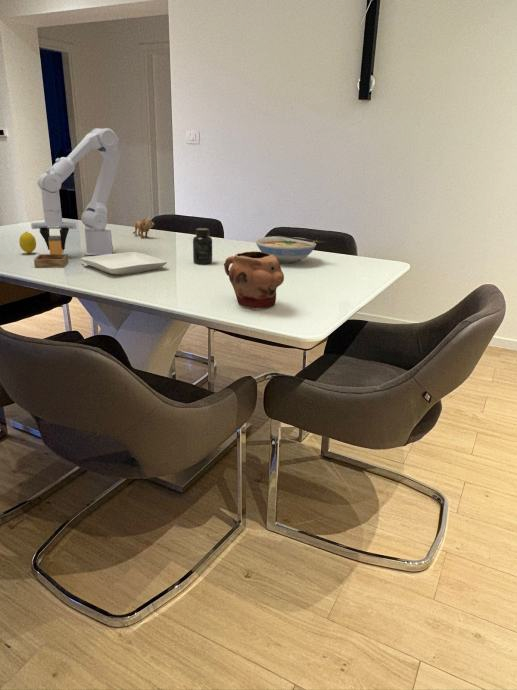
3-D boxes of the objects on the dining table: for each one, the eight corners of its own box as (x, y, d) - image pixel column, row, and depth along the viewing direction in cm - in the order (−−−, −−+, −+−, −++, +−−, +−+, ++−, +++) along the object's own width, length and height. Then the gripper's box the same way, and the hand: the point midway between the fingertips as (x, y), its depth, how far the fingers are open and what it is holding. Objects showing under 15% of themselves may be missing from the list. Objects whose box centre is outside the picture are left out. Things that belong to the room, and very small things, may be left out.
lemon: (26, 255, 184) (23, 233, 181) (17, 253, 187) (15, 231, 184) (40, 253, 188) (37, 231, 185) (32, 251, 191) (29, 230, 188)
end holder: (68, 261, 178) (67, 254, 178) (64, 267, 170) (63, 259, 169) (40, 261, 177) (39, 254, 176) (34, 267, 168) (33, 259, 167)
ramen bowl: (239, 259, 192) (240, 237, 189) (279, 252, 208) (280, 232, 205) (291, 271, 176) (292, 248, 173) (330, 263, 192) (332, 241, 189)
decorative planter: (208, 302, 139) (208, 250, 134) (235, 293, 148) (236, 244, 143) (269, 317, 129) (272, 262, 123) (294, 306, 138) (297, 255, 133)
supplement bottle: (215, 262, 186) (216, 228, 182) (206, 265, 180) (206, 231, 176) (199, 260, 188) (199, 226, 184) (189, 263, 183) (189, 229, 178)
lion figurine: (156, 238, 226) (155, 218, 223) (146, 240, 223) (145, 218, 220) (137, 234, 236) (136, 214, 233) (127, 235, 232) (126, 214, 229)
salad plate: (134, 259, 187) (134, 250, 185) (169, 270, 173) (168, 260, 172) (79, 267, 173) (79, 257, 171) (112, 279, 159) (111, 268, 157)
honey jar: (63, 252, 185) (62, 235, 183) (62, 254, 181) (60, 237, 179) (52, 252, 184) (50, 235, 182) (50, 254, 181) (48, 237, 178)
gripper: (75, 208, 182) (79, 247, 187) (32, 208, 180) (37, 247, 185) (73, 211, 176) (76, 250, 181) (28, 211, 173) (33, 251, 178)
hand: (56, 249), depth 182 cm, fingers closed on honey jar, 4 cm apart
